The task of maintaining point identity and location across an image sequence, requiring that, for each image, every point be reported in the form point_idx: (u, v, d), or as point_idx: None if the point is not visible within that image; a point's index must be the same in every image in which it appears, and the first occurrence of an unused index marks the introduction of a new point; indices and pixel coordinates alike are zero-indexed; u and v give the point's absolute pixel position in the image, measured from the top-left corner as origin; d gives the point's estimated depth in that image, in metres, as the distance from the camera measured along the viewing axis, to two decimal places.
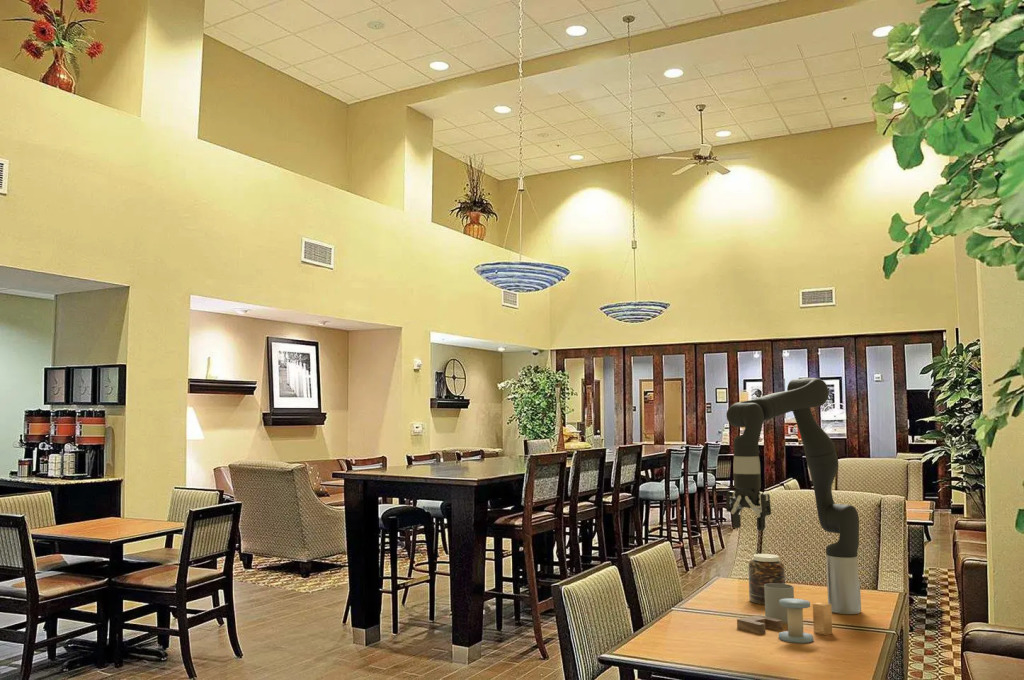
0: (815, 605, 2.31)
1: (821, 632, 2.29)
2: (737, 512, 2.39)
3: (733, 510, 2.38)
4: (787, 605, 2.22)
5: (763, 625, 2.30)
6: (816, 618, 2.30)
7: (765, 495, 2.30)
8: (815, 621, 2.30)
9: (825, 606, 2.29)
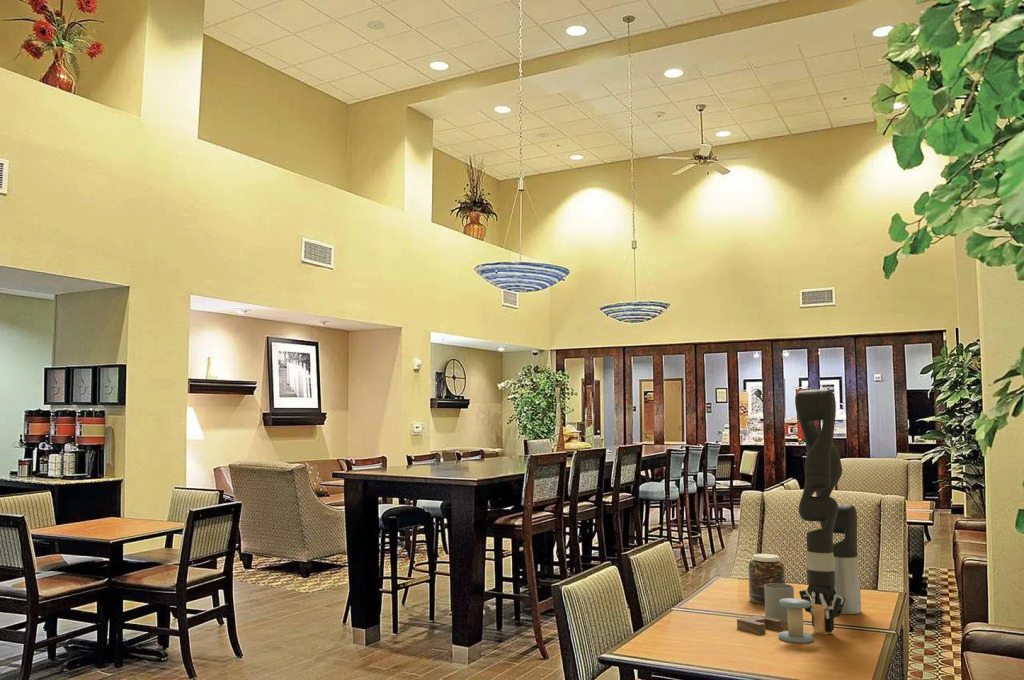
0: (815, 605, 2.31)
1: (821, 632, 2.29)
2: None
3: (812, 610, 2.32)
4: (787, 605, 2.22)
5: (763, 625, 2.30)
6: (816, 618, 2.30)
7: (841, 600, 2.26)
8: (815, 621, 2.30)
9: None
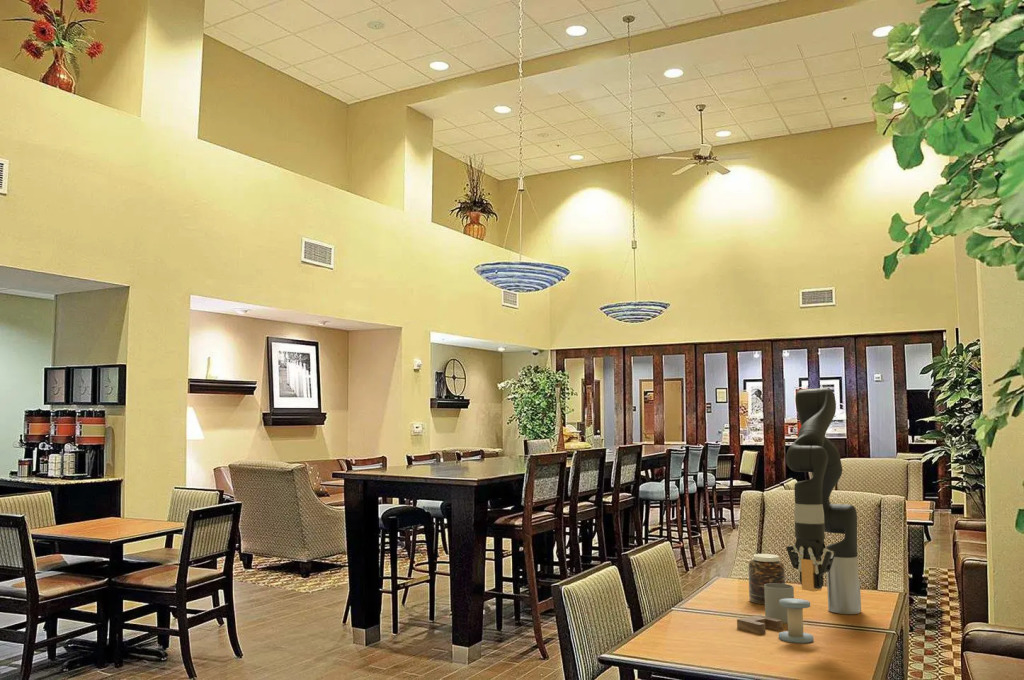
0: (804, 560, 2.17)
1: (810, 588, 2.15)
2: None
3: (800, 566, 2.18)
4: (787, 605, 2.22)
5: (763, 625, 2.30)
6: (805, 574, 2.16)
7: (831, 553, 2.12)
8: (803, 577, 2.16)
9: None
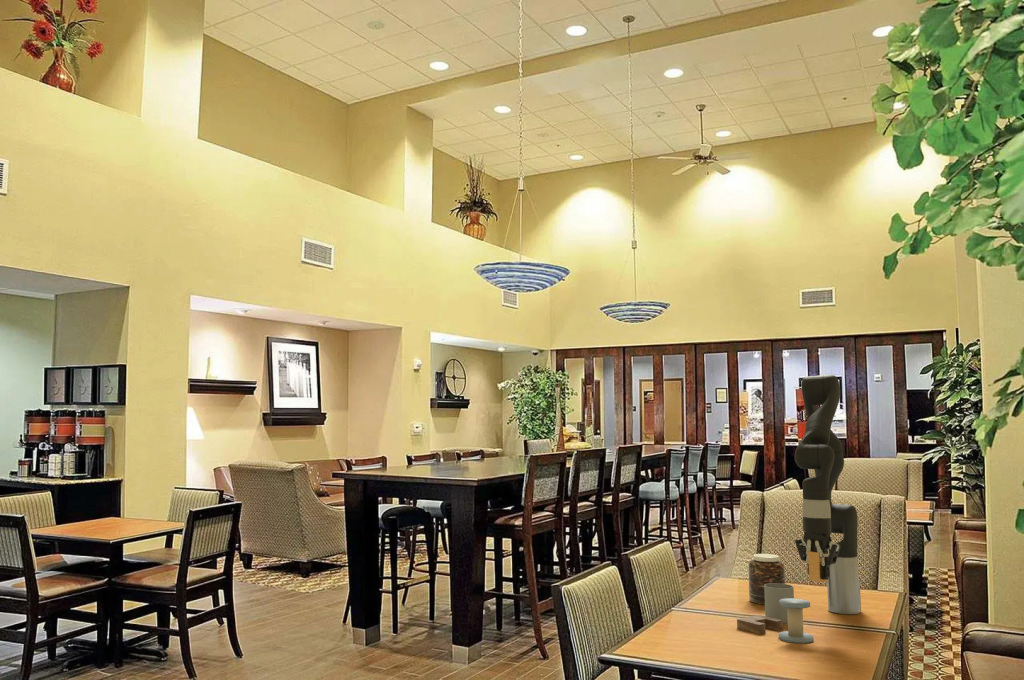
0: (810, 553, 2.29)
1: (816, 579, 2.27)
2: None
3: None
4: (787, 605, 2.22)
5: (763, 625, 2.30)
6: (811, 566, 2.28)
7: (837, 546, 2.24)
8: (810, 569, 2.29)
9: None
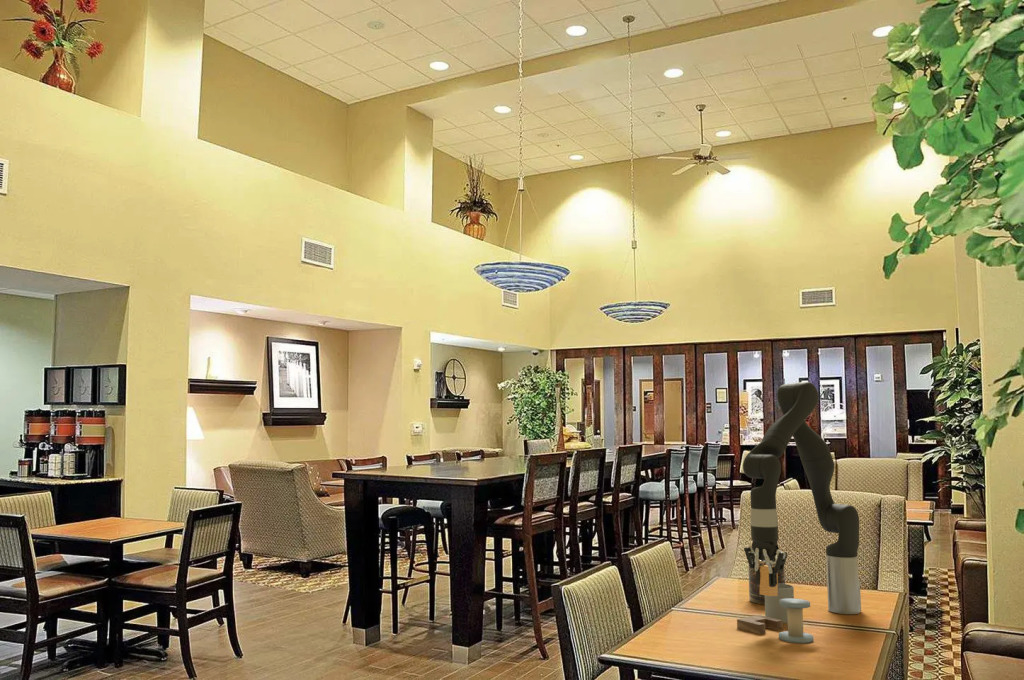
0: (762, 567, 2.34)
1: (766, 593, 2.32)
2: None
3: (756, 566, 2.35)
4: (787, 605, 2.22)
5: (763, 625, 2.30)
6: (762, 580, 2.34)
7: (783, 554, 2.29)
8: (761, 583, 2.34)
9: None
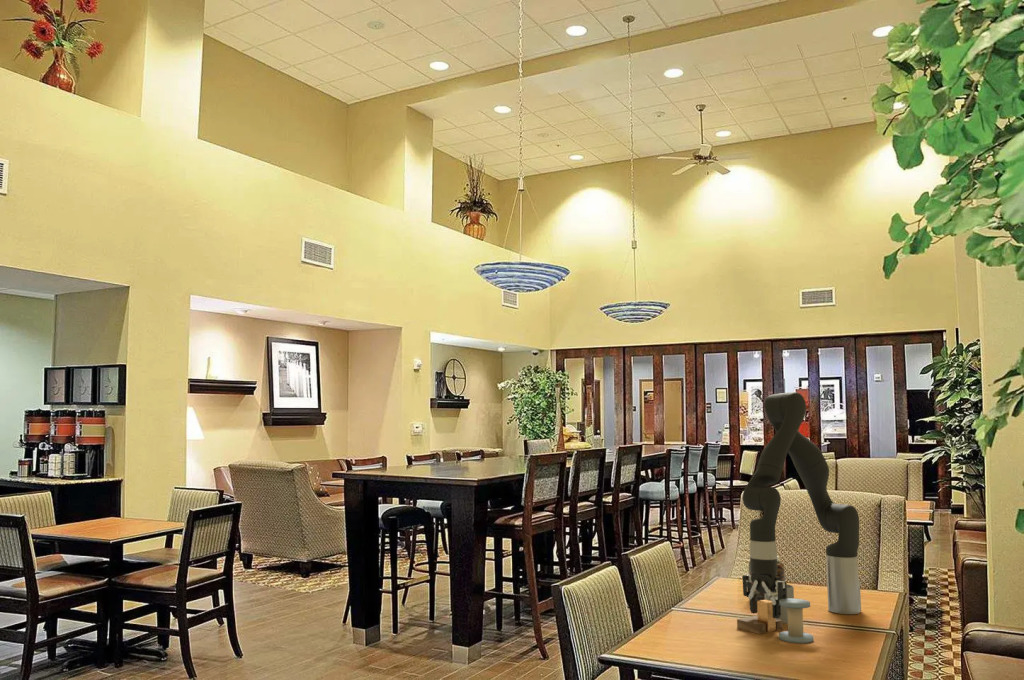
0: (759, 602, 2.34)
1: (765, 629, 2.32)
2: (754, 597, 2.37)
3: (750, 595, 2.37)
4: (787, 605, 2.22)
5: (763, 625, 2.30)
6: (760, 615, 2.33)
7: (782, 583, 2.29)
8: (759, 618, 2.34)
9: (769, 604, 2.32)
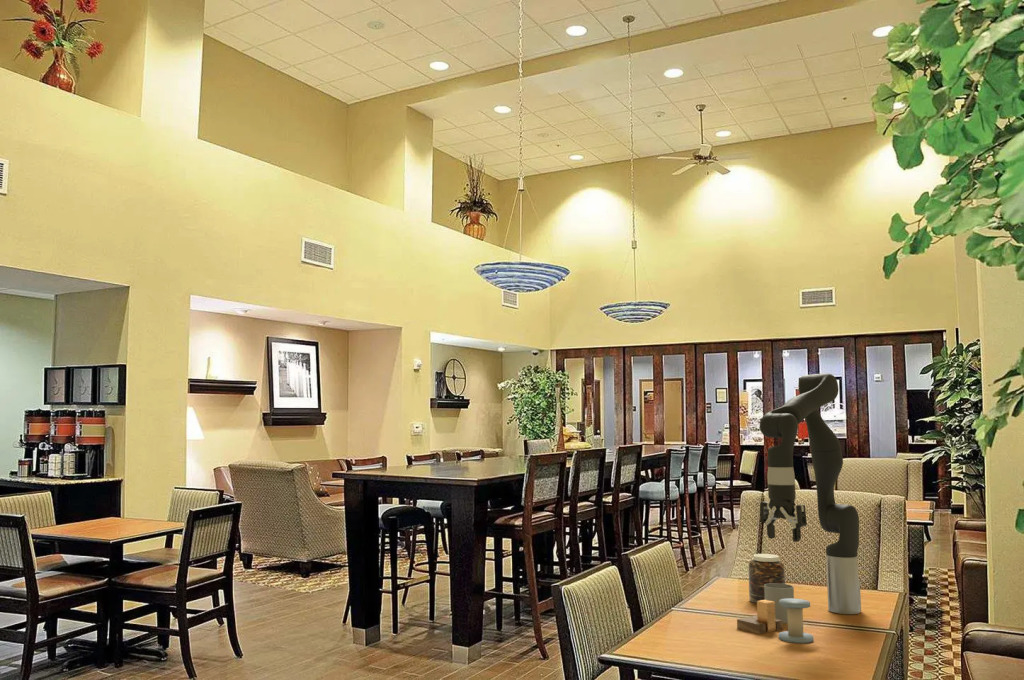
0: (759, 603, 2.34)
1: (765, 629, 2.32)
2: (771, 523, 2.39)
3: (767, 521, 2.38)
4: (787, 605, 2.22)
5: (763, 625, 2.30)
6: (760, 615, 2.33)
7: (801, 506, 2.30)
8: (759, 618, 2.33)
9: (768, 604, 2.32)
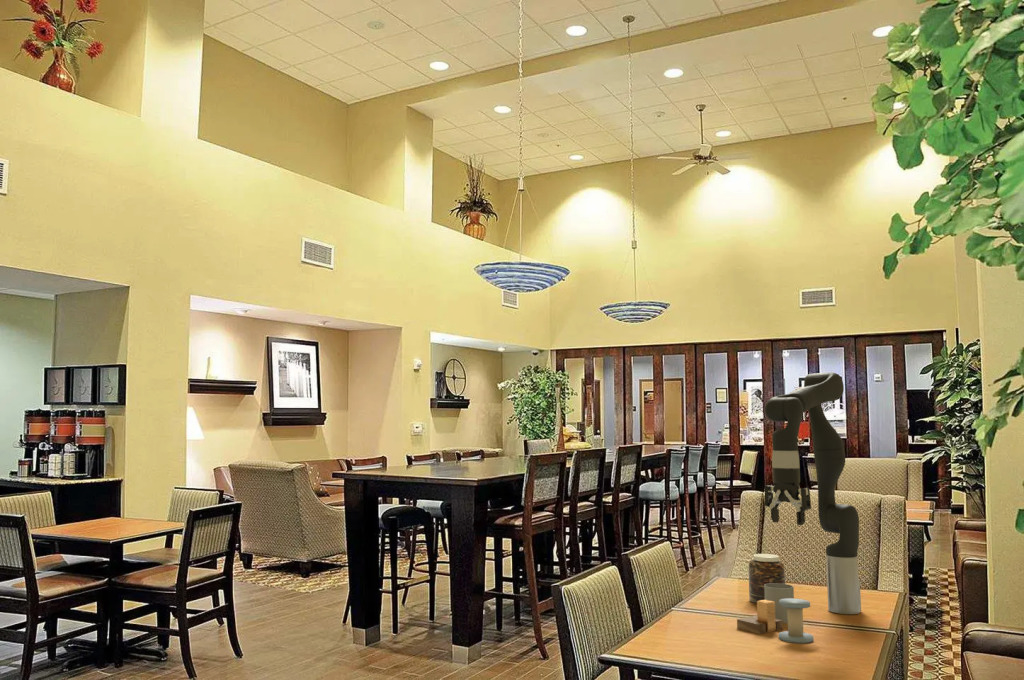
0: (759, 603, 2.34)
1: (765, 629, 2.32)
2: (776, 507, 2.39)
3: (772, 504, 2.38)
4: (787, 605, 2.22)
5: (763, 625, 2.30)
6: (760, 615, 2.33)
7: (805, 489, 2.30)
8: (759, 618, 2.33)
9: (768, 604, 2.32)
